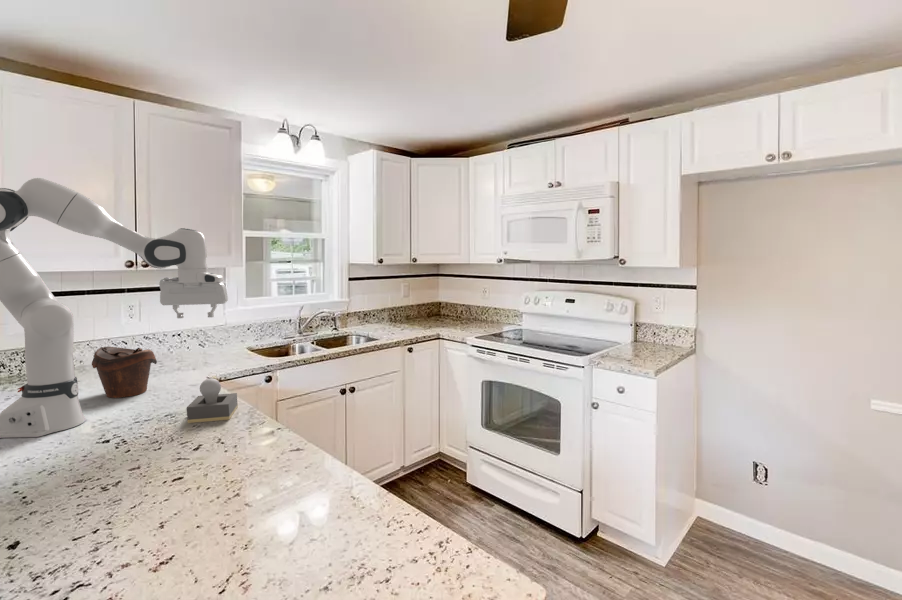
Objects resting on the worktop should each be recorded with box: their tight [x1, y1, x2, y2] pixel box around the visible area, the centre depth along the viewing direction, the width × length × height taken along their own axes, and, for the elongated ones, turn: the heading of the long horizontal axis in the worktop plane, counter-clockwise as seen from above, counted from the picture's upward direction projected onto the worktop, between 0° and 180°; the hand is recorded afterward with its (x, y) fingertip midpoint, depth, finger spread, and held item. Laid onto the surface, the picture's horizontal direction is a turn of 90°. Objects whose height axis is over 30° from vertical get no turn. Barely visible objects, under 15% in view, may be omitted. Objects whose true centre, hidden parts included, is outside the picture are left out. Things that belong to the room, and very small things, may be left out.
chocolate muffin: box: [91, 346, 158, 399], centre depth 174 cm, size 18×20×18 cm
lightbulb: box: [199, 377, 222, 404], centre depth 149 cm, size 6×6×11 cm
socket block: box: [186, 392, 239, 424], centre depth 150 cm, size 12×12×5 cm
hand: (195, 317), depth 157 cm, fingers open, 8 cm apart
